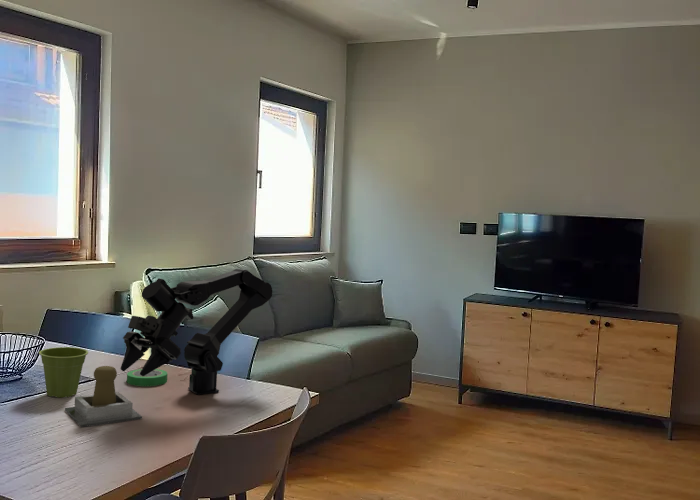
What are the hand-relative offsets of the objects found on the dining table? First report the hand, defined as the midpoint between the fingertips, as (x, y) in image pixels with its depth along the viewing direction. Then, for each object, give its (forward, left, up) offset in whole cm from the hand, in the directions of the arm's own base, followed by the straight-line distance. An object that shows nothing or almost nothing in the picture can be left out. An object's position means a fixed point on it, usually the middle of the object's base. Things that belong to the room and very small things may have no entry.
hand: (131, 372), depth 173 cm
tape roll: (-12, -22, -9) cm, 27 cm away
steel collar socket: (+8, +3, -9) cm, 12 cm away
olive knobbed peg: (+7, +3, -8) cm, 11 cm away
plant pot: (+12, -18, -9) cm, 23 cm away
